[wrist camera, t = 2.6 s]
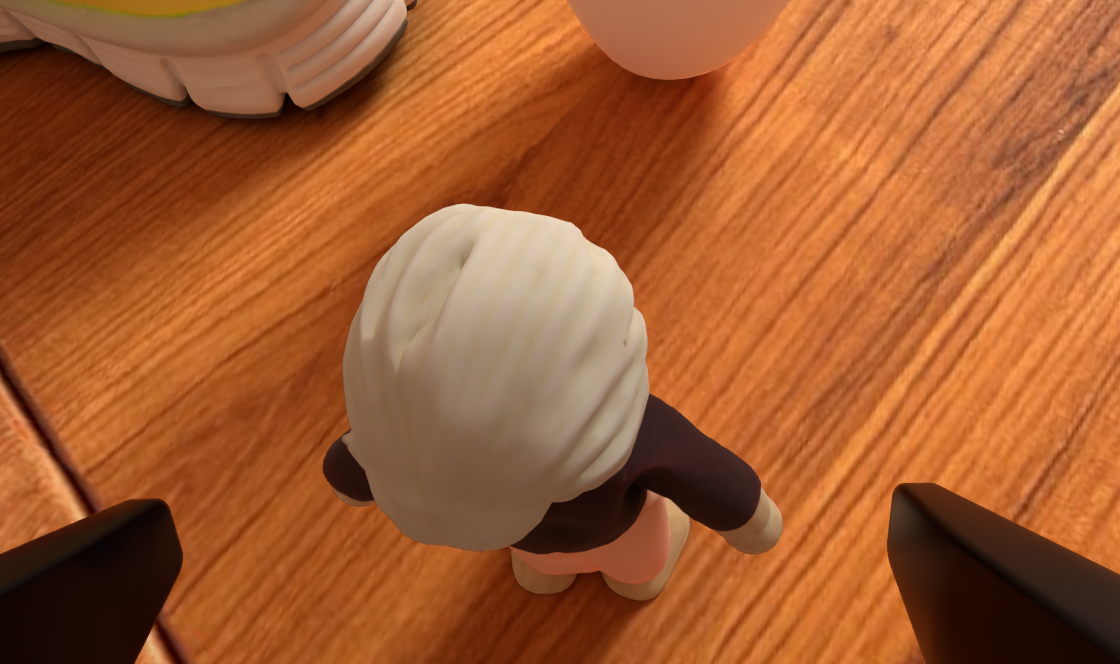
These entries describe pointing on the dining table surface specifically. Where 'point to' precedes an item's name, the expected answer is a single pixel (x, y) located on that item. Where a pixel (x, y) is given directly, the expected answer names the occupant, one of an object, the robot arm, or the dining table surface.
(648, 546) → the grandmother figurine
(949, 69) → the dining table surface
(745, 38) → the white bulb air blower
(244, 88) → the running shoe
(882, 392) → the dining table surface
